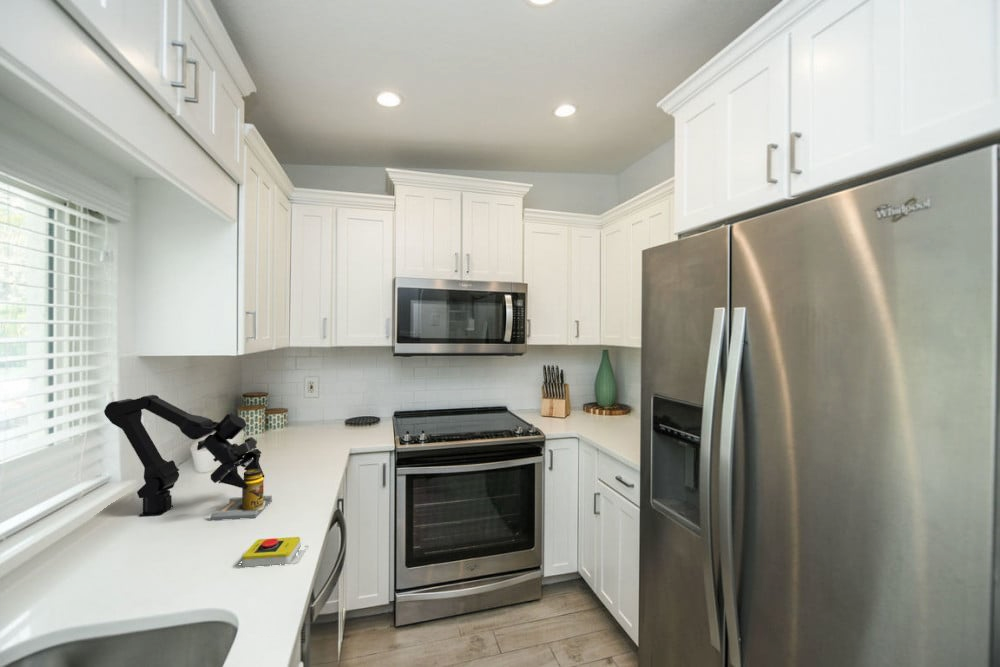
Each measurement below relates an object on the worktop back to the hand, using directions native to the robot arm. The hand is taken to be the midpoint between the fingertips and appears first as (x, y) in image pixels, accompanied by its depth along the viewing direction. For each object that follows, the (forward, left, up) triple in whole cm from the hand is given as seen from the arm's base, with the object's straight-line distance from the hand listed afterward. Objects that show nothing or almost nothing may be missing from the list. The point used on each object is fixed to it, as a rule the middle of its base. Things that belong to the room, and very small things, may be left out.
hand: (255, 482), depth 136 cm
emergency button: (+17, -31, -10) cm, 37 cm away
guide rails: (-4, 0, -8) cm, 9 cm away
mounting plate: (-4, 0, -9) cm, 10 cm away
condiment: (-2, 0, -8) cm, 8 cm away
